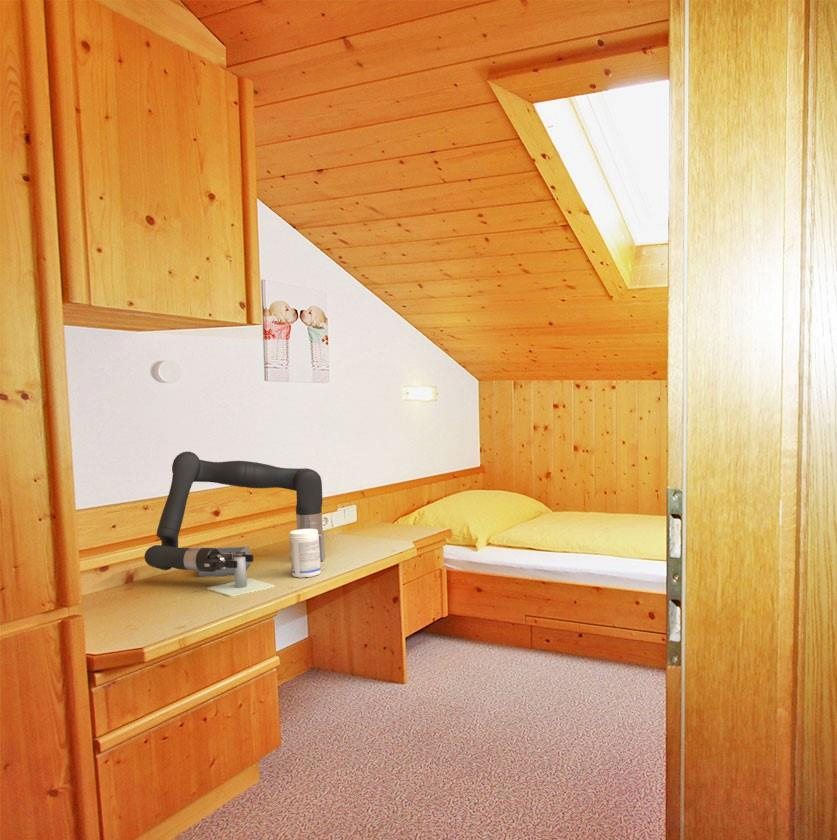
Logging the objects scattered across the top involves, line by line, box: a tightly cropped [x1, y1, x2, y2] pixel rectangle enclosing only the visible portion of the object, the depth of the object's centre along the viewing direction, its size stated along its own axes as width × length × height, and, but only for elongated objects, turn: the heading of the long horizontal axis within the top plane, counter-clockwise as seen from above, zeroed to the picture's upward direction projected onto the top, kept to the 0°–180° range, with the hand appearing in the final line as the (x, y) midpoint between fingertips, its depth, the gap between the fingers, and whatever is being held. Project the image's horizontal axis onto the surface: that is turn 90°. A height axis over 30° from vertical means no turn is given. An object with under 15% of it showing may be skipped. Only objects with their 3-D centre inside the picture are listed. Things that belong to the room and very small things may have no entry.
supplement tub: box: [289, 529, 322, 579], centre depth 239 cm, size 10×10×15 cm
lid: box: [206, 557, 276, 598], centre depth 225 cm, size 15×15×10 cm
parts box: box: [197, 546, 251, 578], centre depth 249 cm, size 14×14×7 cm
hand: (245, 561), depth 224 cm, fingers open, 8 cm apart
